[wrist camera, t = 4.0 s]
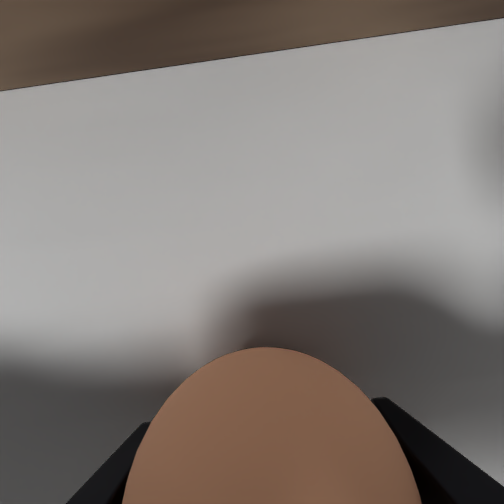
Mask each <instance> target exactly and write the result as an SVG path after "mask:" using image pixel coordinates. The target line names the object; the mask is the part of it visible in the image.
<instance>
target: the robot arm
mask: <svg viewBox="0 0 504 504" xmlns="http://www.w3.org/2000/svg"><path fill="white" fill-rule="evenodd" d="M371 402H372V403H373V404H374V405H375V407H376V408H377V409H378V410H379V412H380V413H381V415H382V416H383V418H384V419H385V421H386V422H387V424H388V425H389V427H390V429H391V430H392V432H393V433H394V435H395V436H396V438H397V440H398V442H399V444H400V446H401V448H402V451H403V453H404V455H405V457H406V459H407V461H408V464H409V466H410V468H411V470H412V473H413V476H414V479H415V482H416V485H417V488H418V491H419V494H420V498H421V503H422V504H504V487H503V486H502V485H501V484H500V483H498V482H497V481H496V480H494V479H493V478H492V477H490V476H489V475H488V474H486V473H485V472H484V471H483V470H481V469H480V468H479V467H477V466H476V465H475V464H473V463H472V462H471V461H469V460H468V459H467V458H466V457H464V456H463V455H462V454H460V453H459V452H458V451H456V450H455V449H454V448H452V447H451V446H450V445H449V444H447V443H446V442H445V441H443V440H442V439H441V438H439V437H438V436H437V435H435V434H434V433H433V432H431V431H430V430H429V429H428V428H426V427H425V426H424V425H422V424H421V423H420V422H418V421H417V420H416V419H414V418H413V417H412V416H411V415H409V414H408V413H407V412H405V411H404V410H403V409H401V408H400V407H399V406H397V405H396V404H395V403H394V402H392V401H391V400H390V399H388V398H386V397H379V398H373V399H371ZM150 424H151V422H145V423H143V424H141V425H140V426H139V427H138V428H137V429H136V430H135V431H134V432H133V433H132V434H131V436H130V437H129V438H128V439H127V440H126V441H125V442H124V443H123V444H122V445H121V446H120V447H119V448H118V449H117V450H116V451H115V452H114V453H113V454H112V456H111V457H110V458H109V459H108V460H107V461H106V462H105V463H104V464H103V465H102V466H101V467H100V468H99V469H98V470H97V471H96V472H95V473H94V474H93V476H92V477H91V478H90V479H89V480H88V481H87V482H86V483H85V484H84V485H83V486H82V487H81V488H80V489H79V490H78V491H77V492H76V493H75V494H74V495H73V497H72V498H71V499H70V500H69V501H68V502H67V503H66V504H122V501H123V496H124V492H125V487H126V483H127V480H128V476H129V473H130V470H131V467H132V464H133V461H134V458H135V455H136V452H137V450H138V448H139V446H140V444H141V442H142V440H143V438H144V436H145V434H146V432H147V430H148V428H149V426H150Z"/></svg>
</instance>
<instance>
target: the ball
mask: <svg viewBox="0 0 504 504" xmlns="http://www.w3.org/2000/svg"><path fill="white" fill-rule="evenodd" d="M122 504H422V503H421V498H420V494H419V491H418V488H417V485H416V482H415V479H414V476H413V473H412V470H411V468H410V466H409V464H408V461H407V459H406V457H405V455H404V453H403V451H402V448H401V446H400V444H399V442H398V440H397V438H396V436H395V435H394V433H393V432H392V430H391V429H390V427H389V425H388V424H387V422H386V421H385V419H384V418H383V416H382V415H381V413H380V412H379V410H378V409H377V408H376V407H375V405H374V404H373V403H372V402H371V401H370V400H369V398H368V397H367V396H366V395H365V394H364V393H363V392H362V391H361V390H360V389H359V388H358V387H357V386H356V385H355V384H354V383H352V382H351V381H350V380H349V379H348V378H346V377H345V376H344V375H343V374H342V373H340V372H339V371H338V370H336V369H334V368H333V367H331V366H329V365H328V364H326V363H324V362H322V361H321V360H319V359H316V358H314V357H312V356H310V355H307V354H304V353H301V352H298V351H294V350H289V349H283V348H274V347H258V348H250V349H244V350H239V351H236V352H233V353H229V354H226V355H224V356H222V357H219V358H217V359H215V360H213V361H211V362H210V363H208V364H206V365H204V366H203V367H202V368H200V369H199V370H197V371H196V372H195V373H193V374H192V375H191V376H189V377H188V378H187V379H186V380H185V381H184V382H183V383H182V384H181V385H180V386H179V387H178V388H177V389H176V390H175V391H174V392H173V393H172V394H171V395H170V396H169V397H168V399H167V400H166V401H165V403H164V404H163V406H162V407H161V408H160V410H159V411H158V413H157V414H156V416H155V417H154V419H153V420H152V422H151V424H150V426H149V428H148V430H147V432H146V434H145V436H144V438H143V440H142V442H141V444H140V446H139V448H138V450H137V452H136V455H135V458H134V461H133V464H132V467H131V470H130V473H129V476H128V480H127V483H126V487H125V492H124V496H123V501H122Z"/></svg>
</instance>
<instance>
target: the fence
mask: <svg viewBox="0 0 504 504" xmlns="http://www.w3.org/2000/svg"><path fill="white" fill-rule="evenodd" d="M503 17H504V0H0V91H1V90H8V89H15V88H22V87H29V86H36V85H42V84H49V83H56V82H63V81H70V80H77V79H84V78H91V77H97V76H104V75H111V74H118V73H125V72H132V71H139V70H146V69H152V68H159V67H166V66H173V65H180V64H187V63H194V62H201V61H207V60H214V59H221V58H228V57H235V56H242V55H249V54H256V53H262V52H269V51H276V50H283V49H290V48H297V47H304V46H311V45H317V44H324V43H331V42H338V41H345V40H352V39H359V38H365V37H372V36H379V35H386V34H393V33H400V32H407V31H414V30H420V29H427V28H434V27H441V26H448V25H455V24H462V23H469V22H475V21H482V20H489V19H496V18H503Z"/></svg>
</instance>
